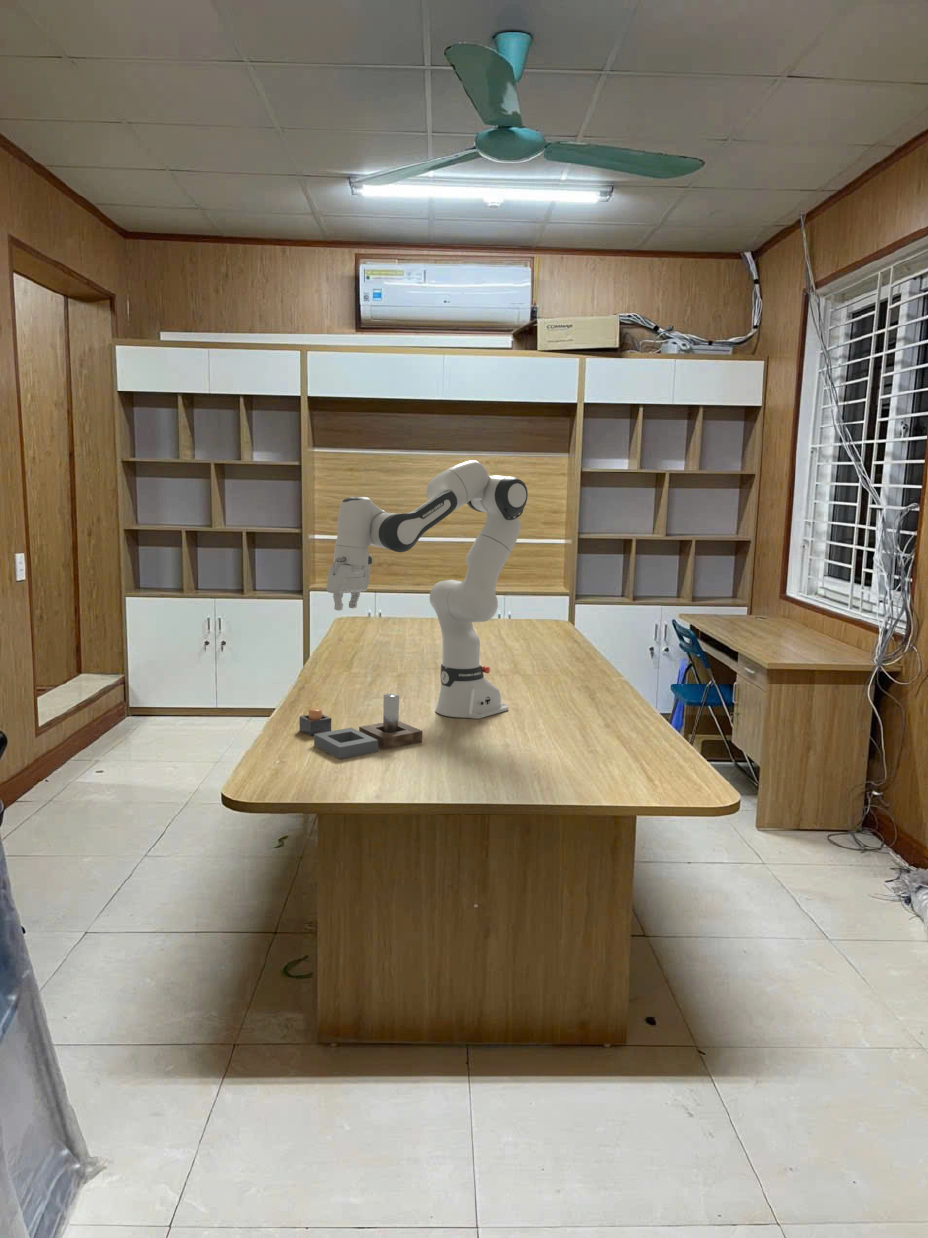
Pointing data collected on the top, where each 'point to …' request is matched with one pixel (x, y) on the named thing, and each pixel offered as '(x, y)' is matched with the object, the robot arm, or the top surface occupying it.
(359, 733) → the block
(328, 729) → the dark grey open box
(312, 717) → the brown egg
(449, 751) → the top surface
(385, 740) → the socket block
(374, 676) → the top surface
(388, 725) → the grey metal cylinder
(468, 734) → the top surface
